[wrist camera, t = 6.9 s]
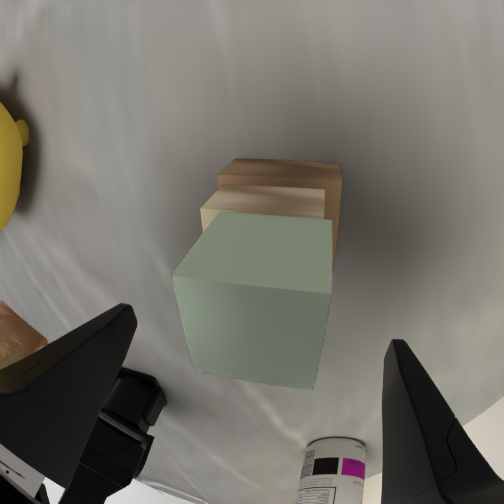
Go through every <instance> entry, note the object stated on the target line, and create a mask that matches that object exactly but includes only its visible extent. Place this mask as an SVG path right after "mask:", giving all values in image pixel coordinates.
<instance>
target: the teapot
mask: <svg viewBox="0 0 504 504" xmlns="http://www.w3.org/2000/svg"><path fill="white" fill-rule="evenodd" d="M28 141H29V129H28V126H27V124H26V122H25V121H24V120H18V121H17V122H14V120H13V118H12V117H11V115H10V114H9V112H8V111H7V109H6V108H5V107H4V106H3V104H2V103H1V102H0V230H2V229H3V228H4V227H5V226H6V225H7V223H8V221H9V219H10V217H11V215H12V213H13V211H14V209H15V206H16V203H17V199H18V197H19V195H20V180H21V171H22V157H23V148H22V147H23V146H25V145H27V143H28Z"/></svg>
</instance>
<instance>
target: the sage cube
mask: <svg viewBox="0 0 504 504" xmlns="http://www.w3.org/2000/svg"><path fill="white" fill-rule="evenodd" d="M171 276H172V281H173V286H174V290H175V295H176V299H177V304H178V308H179V312H180V316H181V321H182V325H183V329H184V333H185V337H186V341H187V345H188V348H189V352H190V356H191V360H192V363H193V367H194V370H195V371H199V372H204V373H209V374H213V375H218V376H224V377H229V378H234V379H240V380H246V381H252V382H258V383H265V384H271V385H279V386H286V387H294V388H303V389H312V390H313V388H314V384H315V379H316V375H317V370H318V365H319V361H320V356H321V351H322V346H323V340H324V335H325V330H326V324H327V319H328V313H329V307H330V301H331V295H332V220H327V219H315V218H303V217H290V216H277V215H263V214H248V213H233V212H218V214H217V215H216V216H215V218H214V219H213V220H212V222H211V223H210V224H209V225H208V227H207V228H206V229H205V231H204V232H203V233H202V235H201V236H200V237H199V239H198V240H197V241H196V243H195V244H194V245H193V247H192V248H191V249H190V251H189V252H188V253H187V255H186V256H185V257H184V259H183V260H182V261H181V263H180V264H179V266H178V267H177V268H176V270H175V271H174V272H173V274H172V275H171Z"/></svg>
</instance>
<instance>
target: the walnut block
mask: <svg viewBox="0 0 504 504" xmlns="http://www.w3.org/2000/svg"><path fill="white" fill-rule="evenodd" d="M218 184H219V188H220V186H221V185H253V186H277V187H295V188H311V189H325V203H324V219H327V220H332V274H333V267H334V259H335V251H336V243H337V234H338V225H339V215H340V205H341V194H342V175H341V168H340V164H335V163H323V162H309V161H292V160H270V159H235V160H234V161H232V162H231V163H230V164H229V165H228V166H227V167H226V168H225V169H224V170H223V171H221V172H220V173H219V174H218Z"/></svg>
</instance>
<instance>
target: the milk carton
mask: <svg viewBox="0 0 504 504" xmlns="http://www.w3.org/2000/svg"><path fill="white" fill-rule="evenodd" d="M45 346H47V340H46V338H45V337H44V336H43V335H41V334H40V333H39V332H38V331H36V330H35V329H34V328H33V327H31V326H30V325H29V324H28V323H27V322H25V321H24V320H23V319H22V318H21V317H20V316H19V315H17V314H16V313H15V312H14V311H13V310H12V309H11V308H10V307H8V306H7V305H6V304H5V303H4V302H3V301H1V302H0V369H2V368H4V367H6V366H8V365H10V364H12V363H15V362H17V361H19V360H21V359H23V358H25V357H27V356H29V355H31V354H32V353H34V352H36V351H38V350H40V349H41V348H43V347H45Z"/></svg>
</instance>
